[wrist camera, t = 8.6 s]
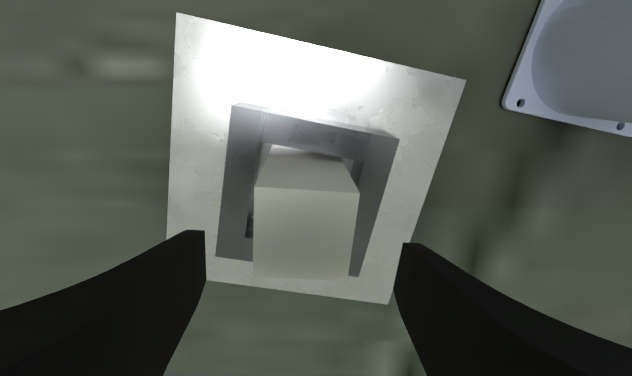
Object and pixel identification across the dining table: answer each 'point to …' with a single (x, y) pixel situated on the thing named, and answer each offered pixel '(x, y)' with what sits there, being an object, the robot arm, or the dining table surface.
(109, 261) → the dining table surface
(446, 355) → the robot arm
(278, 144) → the socket
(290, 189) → the plug
